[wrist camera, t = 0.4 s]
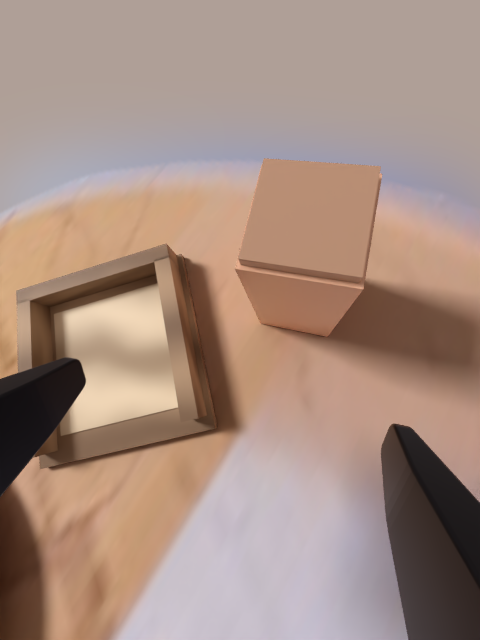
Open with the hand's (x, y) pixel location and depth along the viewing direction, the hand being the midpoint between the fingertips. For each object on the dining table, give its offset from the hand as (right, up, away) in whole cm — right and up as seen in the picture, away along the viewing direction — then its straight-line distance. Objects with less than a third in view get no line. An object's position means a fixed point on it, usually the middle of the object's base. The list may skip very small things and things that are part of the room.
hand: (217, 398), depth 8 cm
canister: (+5, +4, +13) cm, 15 cm away
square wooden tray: (-9, -1, +15) cm, 18 cm away
